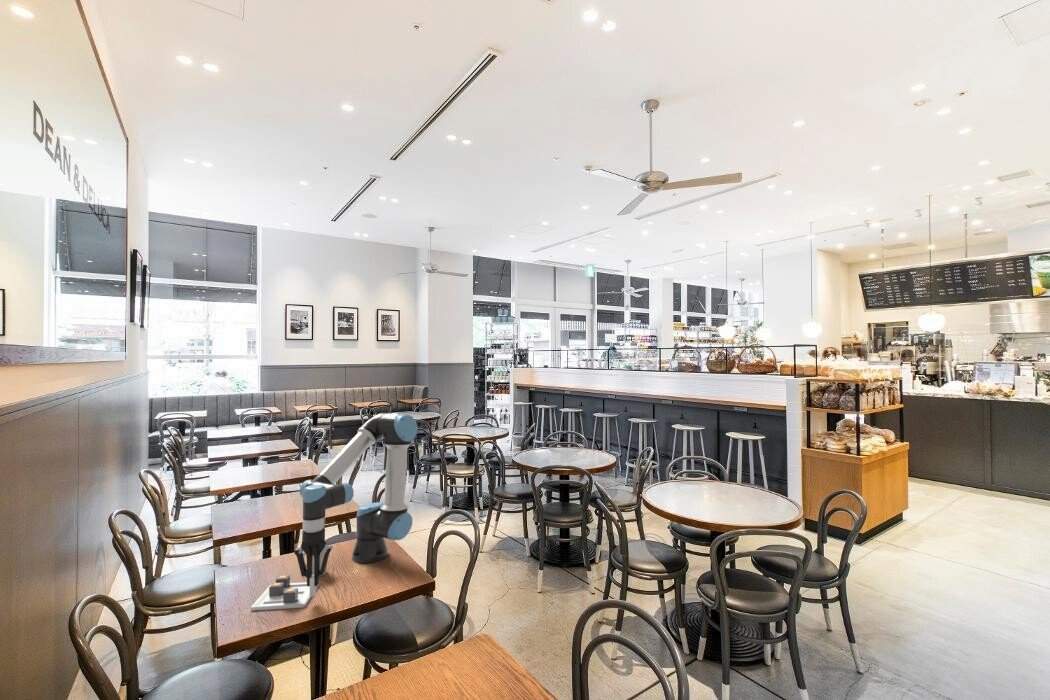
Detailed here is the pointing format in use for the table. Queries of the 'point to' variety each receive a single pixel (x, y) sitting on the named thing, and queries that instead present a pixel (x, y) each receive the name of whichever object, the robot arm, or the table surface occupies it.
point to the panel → (275, 595)
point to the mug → (320, 561)
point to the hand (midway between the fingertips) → (312, 594)
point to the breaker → (290, 595)
